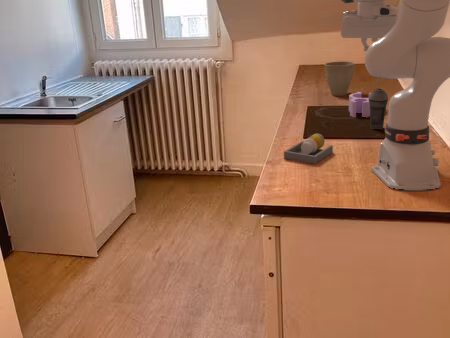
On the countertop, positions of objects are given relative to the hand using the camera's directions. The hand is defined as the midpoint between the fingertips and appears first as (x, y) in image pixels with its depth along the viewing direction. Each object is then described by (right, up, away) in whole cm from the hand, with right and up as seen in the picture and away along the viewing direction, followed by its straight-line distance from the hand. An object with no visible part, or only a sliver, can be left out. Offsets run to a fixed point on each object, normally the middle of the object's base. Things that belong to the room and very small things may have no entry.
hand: (368, 51), depth 164 cm
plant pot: (+8, -3, +78) cm, 79 cm away
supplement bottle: (-18, -32, -1) cm, 36 cm away
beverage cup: (+9, -26, +19) cm, 33 cm away
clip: (+10, -16, +43) cm, 47 cm away
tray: (-22, -37, -6) cm, 43 cm away
